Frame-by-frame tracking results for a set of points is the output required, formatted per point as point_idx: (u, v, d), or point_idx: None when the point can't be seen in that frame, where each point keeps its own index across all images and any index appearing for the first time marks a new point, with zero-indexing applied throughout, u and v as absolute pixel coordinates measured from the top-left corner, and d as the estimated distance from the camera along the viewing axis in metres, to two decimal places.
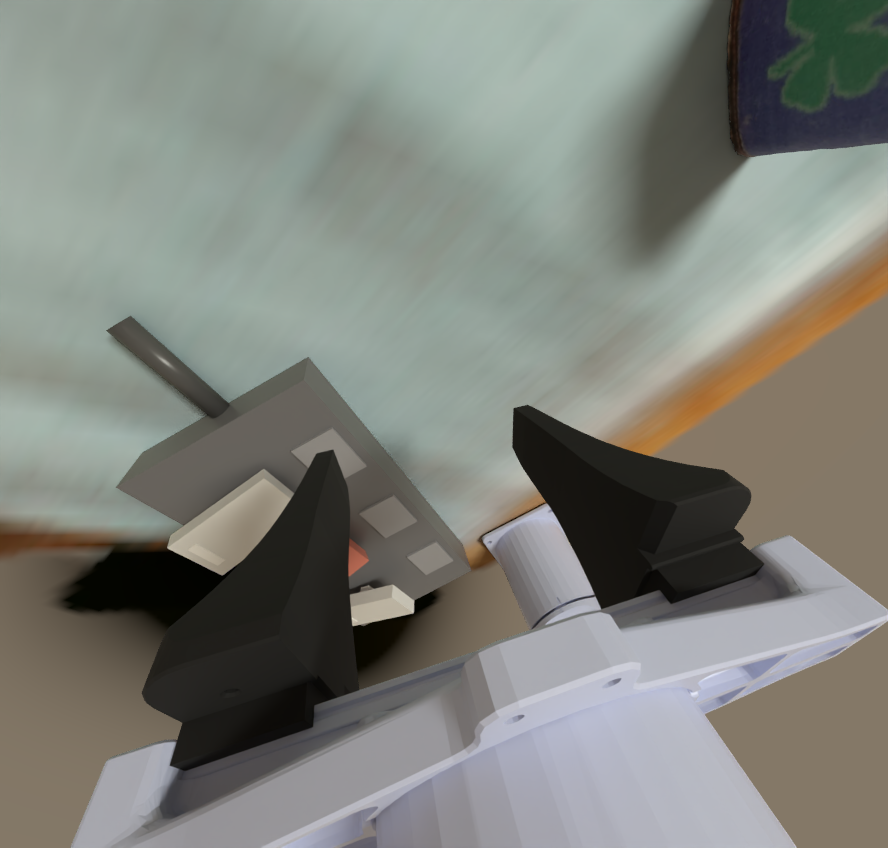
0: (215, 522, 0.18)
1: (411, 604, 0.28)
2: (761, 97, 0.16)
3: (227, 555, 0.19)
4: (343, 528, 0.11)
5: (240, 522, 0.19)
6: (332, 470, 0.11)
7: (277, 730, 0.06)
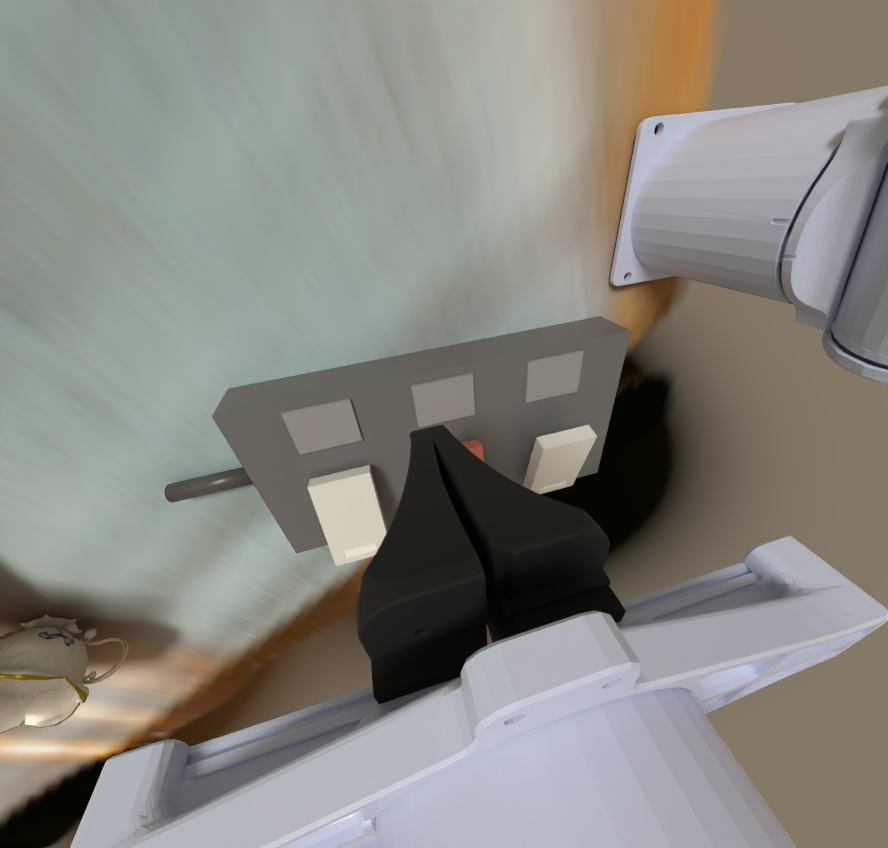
0: (332, 533, 0.21)
1: (585, 432, 0.21)
2: None
3: (373, 540, 0.21)
4: None
5: (344, 519, 0.20)
6: None
7: (461, 667, 0.07)
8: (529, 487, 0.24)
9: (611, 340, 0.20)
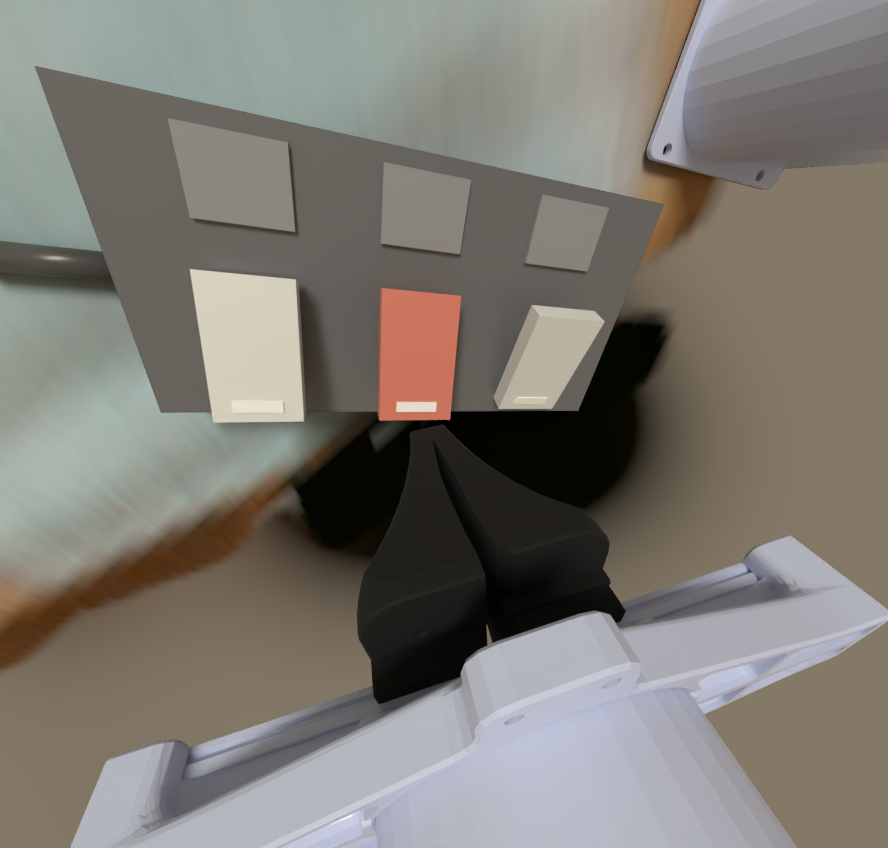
0: (217, 364, 0.14)
1: (590, 315, 0.16)
2: None
3: (279, 395, 0.15)
4: None
5: (240, 346, 0.14)
6: None
7: (461, 667, 0.07)
8: (503, 392, 0.19)
9: (641, 209, 0.16)
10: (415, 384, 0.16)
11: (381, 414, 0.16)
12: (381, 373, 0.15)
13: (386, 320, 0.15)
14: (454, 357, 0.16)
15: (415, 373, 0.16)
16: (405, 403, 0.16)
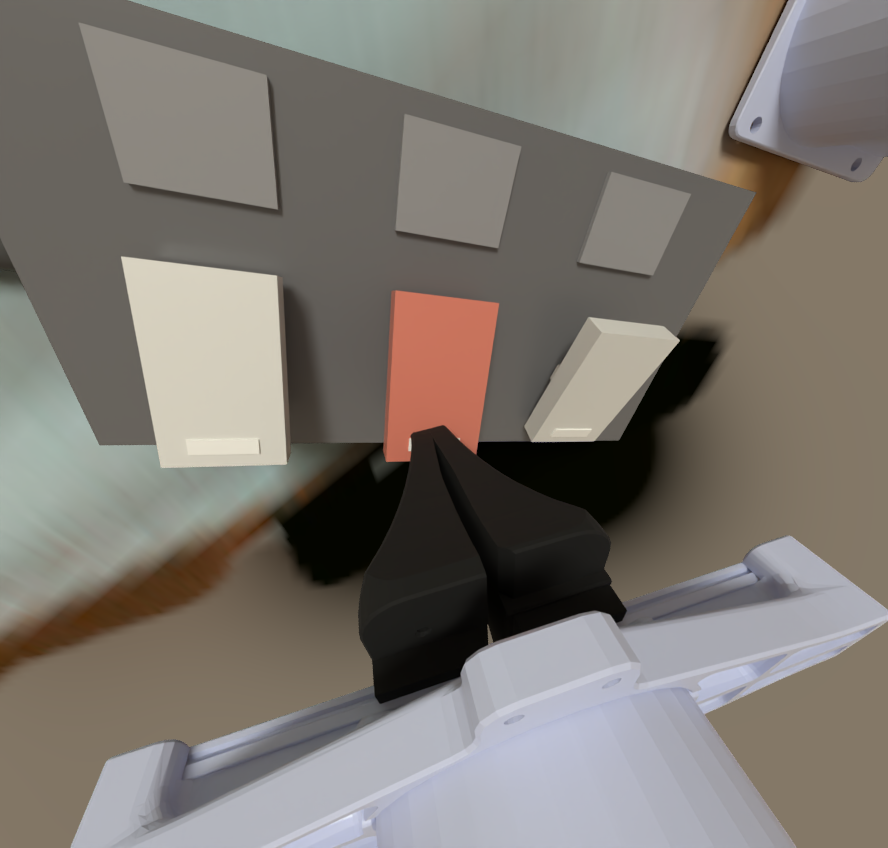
0: (164, 390, 0.10)
1: (661, 332, 0.13)
2: None
3: (253, 431, 0.11)
4: None
5: (198, 366, 0.10)
6: (434, 445, 0.12)
7: (462, 667, 0.07)
8: (540, 422, 0.15)
9: (727, 197, 0.13)
10: (435, 416, 0.12)
11: (389, 454, 0.12)
12: (391, 402, 0.12)
13: (400, 333, 0.11)
14: (485, 382, 0.12)
15: (434, 403, 0.12)
16: None
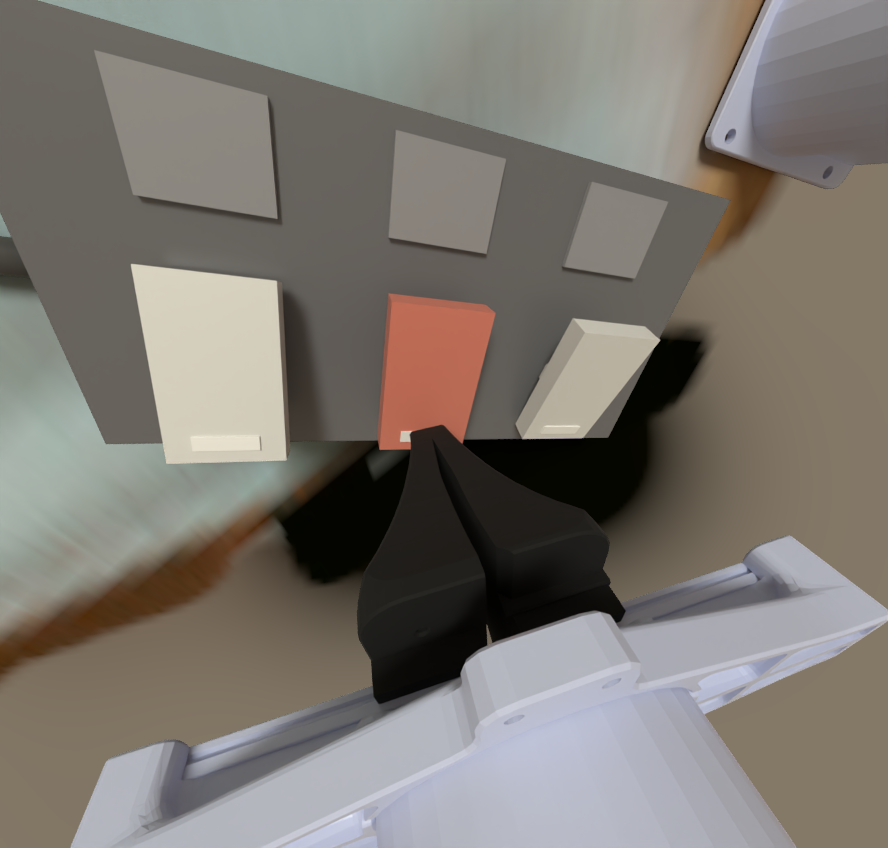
0: (170, 389, 0.10)
1: (642, 332, 0.13)
2: None
3: (255, 428, 0.11)
4: None
5: (203, 366, 0.10)
6: None
7: (461, 667, 0.07)
8: (529, 420, 0.16)
9: (703, 205, 0.14)
10: (425, 413, 0.13)
11: (382, 444, 0.14)
12: (385, 401, 0.13)
13: (395, 342, 0.11)
14: (476, 384, 0.13)
15: (426, 402, 0.13)
16: None
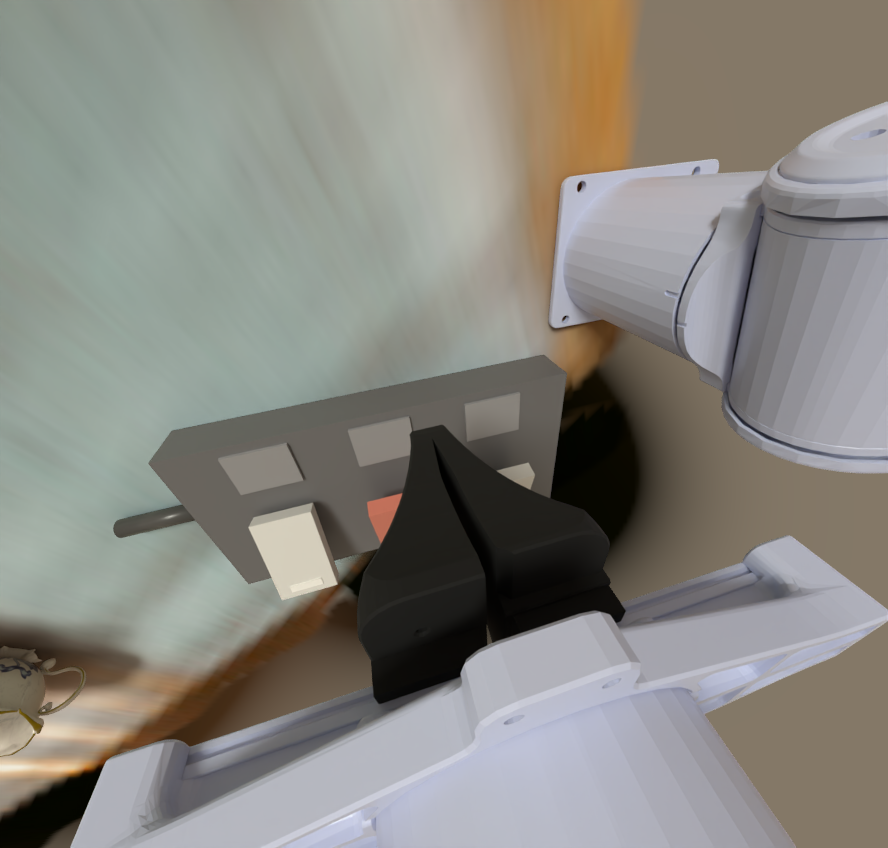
0: (276, 569, 0.21)
1: (524, 470, 0.21)
2: None
3: (318, 574, 0.22)
4: None
5: (287, 556, 0.21)
6: None
7: (461, 667, 0.07)
8: None
9: (548, 382, 0.21)
10: None
11: None
12: (381, 541, 0.22)
13: (376, 525, 0.21)
14: None
15: None
16: None
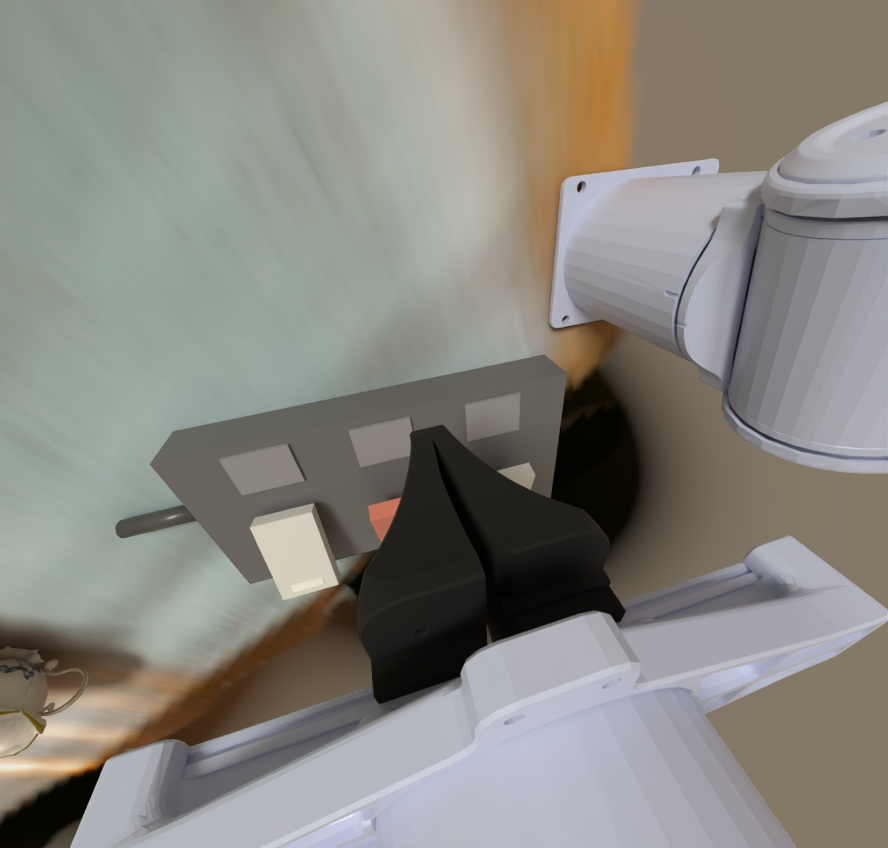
0: (277, 569, 0.21)
1: (524, 470, 0.21)
2: None
3: (319, 574, 0.22)
4: None
5: (288, 556, 0.21)
6: None
7: (461, 667, 0.07)
8: None
9: (548, 382, 0.21)
10: None
11: None
12: (381, 541, 0.23)
13: (378, 528, 0.21)
14: None
15: None
16: None
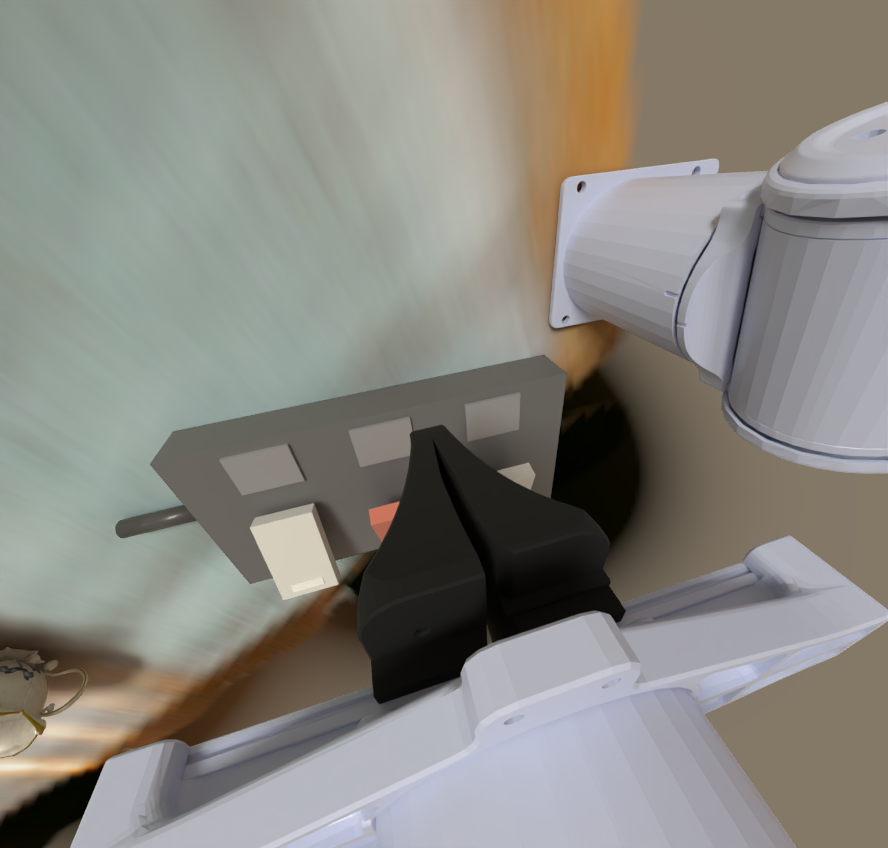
0: (277, 569, 0.21)
1: (524, 470, 0.21)
2: None
3: (319, 574, 0.22)
4: None
5: (288, 556, 0.21)
6: None
7: (461, 667, 0.07)
8: None
9: (548, 382, 0.21)
10: None
11: None
12: (381, 540, 0.23)
13: (378, 530, 0.21)
14: None
15: None
16: None
